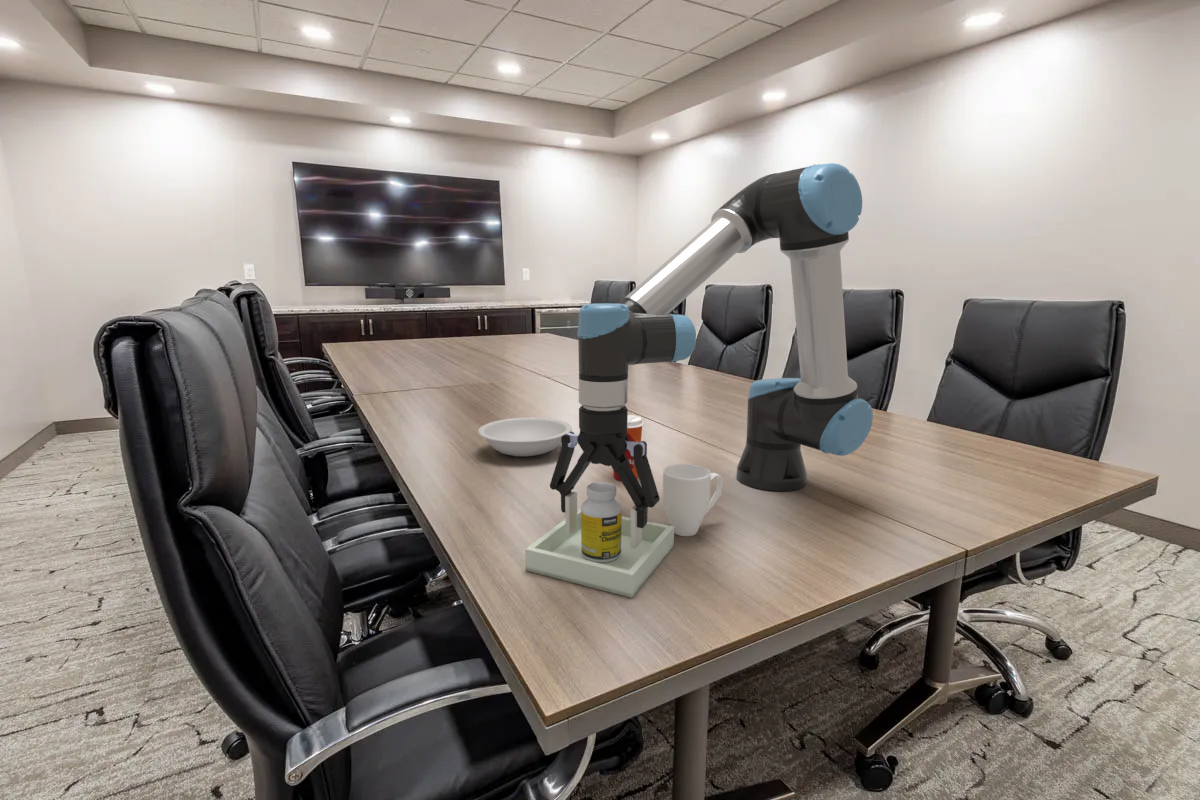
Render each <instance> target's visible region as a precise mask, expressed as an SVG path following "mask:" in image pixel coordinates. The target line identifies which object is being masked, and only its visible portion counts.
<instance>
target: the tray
mask: <svg viewBox="0 0 1200 800" xmlns="http://www.w3.org/2000/svg"><path fill="white" fill-rule="evenodd" d="M674 539H675V533H674V526H671V525H670V524H668V525H667V524H663V523H658V522H652V521H648V520H647V524H646V525H645V527H644V528H642V542H641V543H640V544H639V545H638V546H637V547H636V549H632V548H631V517H627V516H622V526H621V554H620V556H619V557H618V558H617V559H615V560H613V561H609V562H593V561H590V560H588V559H586V558H585V557H584V556H583V555H582V551H581V507H579V508H577V529H576V530H575V531H574V532H572V533H571V534H570V535H569V534H566V523H565V519H564V520H562V521H561V522H560V523H559V524H557V525H555V526H553V528H552V529H550V530H548V531H547V532H546V533H545V534H543V535H542V536H541V537H540V538H538V539H537V540H536V541H534V542H533V543H532V544H530V545H529V546H528V547H526V548H525V550H524V551H525V572H526V571H527V572H531V573H533V574H534V573H535V574H538V575H542V576H545V577H549V578H550V577H551V578H554V579H558V580H561V581H564V582H569V583H573V584H577V585H580V586H584V587H588V588H592V589H595V590H599V591H604V592H607V593H611V594H615V595H619V596H622V597H626V598H630V599H633V598H634V597H635V596H636V594H637V593H638V592H639V591H640V589H642V587H643V585H645V582H647V580H648V579H649V578H650V577H651V575H652V574H653V573H654V572H655V570H656V569H657V568H658V566H659V565H660V564H661V563H662V561H663V560H664V559H665V558H666V557H667V555H668V554H669V552H671V550H672V549H673V548H674V546H675V545H674V544H675V543H674V542H675V541H674Z"/></svg>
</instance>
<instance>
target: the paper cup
mask: <svg viewBox="0 0 1200 800" xmlns="http://www.w3.org/2000/svg"><path fill="white" fill-rule="evenodd" d="M644 425H645V424H644V422H643V418H642V417H641V416H639V415H633V414H628V418H627V437H628V439H629V441H630V442H637V443H640V442H641V441H642V434H643V432H642V431H643V426H644ZM624 454H625V455H626V457H627V459H628V461H629V466H630V467H631V469H632V471H633V473H634V475H635V476H636V478H637V480H639V477H638V474H637V471H636V467H635V464H634V458H633V456H631V453H630V451H629V450H628V449H627V450H626V452H625V453H624ZM618 462H619V461H618ZM619 463H620V462H619ZM612 471H613V478H614V479H615V480H616V481H619V482H622V481H621V479H620V477H619V476H618V474H617V472H615V471H614V470H613V469H612Z"/></svg>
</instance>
